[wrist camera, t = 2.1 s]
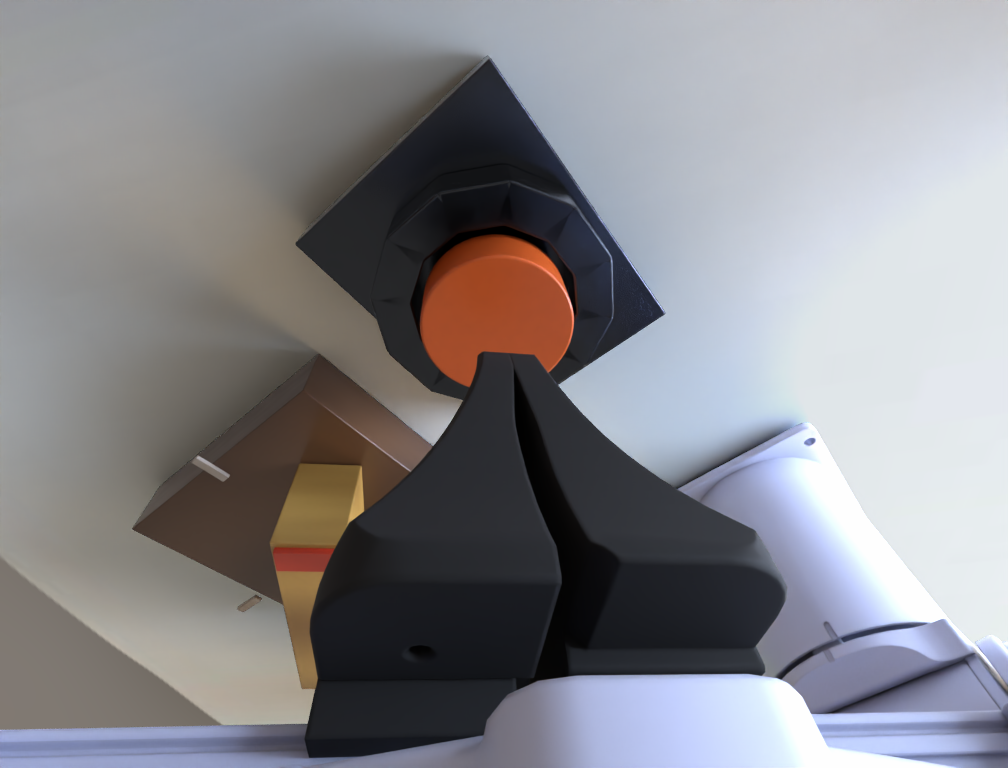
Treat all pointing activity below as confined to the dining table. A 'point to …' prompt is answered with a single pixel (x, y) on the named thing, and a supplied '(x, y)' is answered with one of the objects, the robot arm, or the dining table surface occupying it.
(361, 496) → the wooden block
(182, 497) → the holder base
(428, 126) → the button housing
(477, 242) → the release button
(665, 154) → the dining table surface
